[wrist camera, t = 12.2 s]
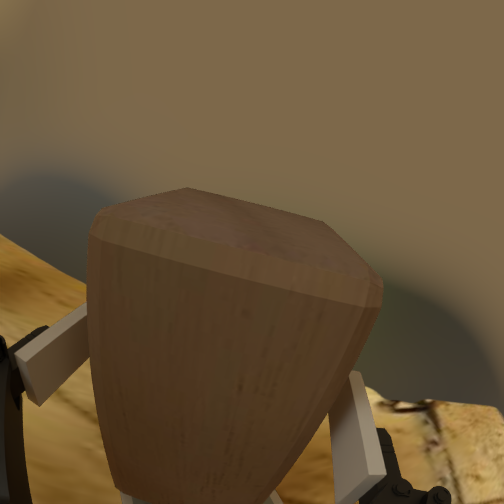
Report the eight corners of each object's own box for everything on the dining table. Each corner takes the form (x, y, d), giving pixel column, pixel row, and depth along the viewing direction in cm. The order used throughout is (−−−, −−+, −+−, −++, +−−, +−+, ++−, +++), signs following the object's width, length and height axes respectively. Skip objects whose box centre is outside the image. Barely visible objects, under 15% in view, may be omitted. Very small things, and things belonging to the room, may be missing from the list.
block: (255, 436, 23) (335, 223, 17) (248, 528, 13) (404, 283, 8) (149, 409, 23) (176, 183, 17) (111, 492, 13) (79, 201, 8)
